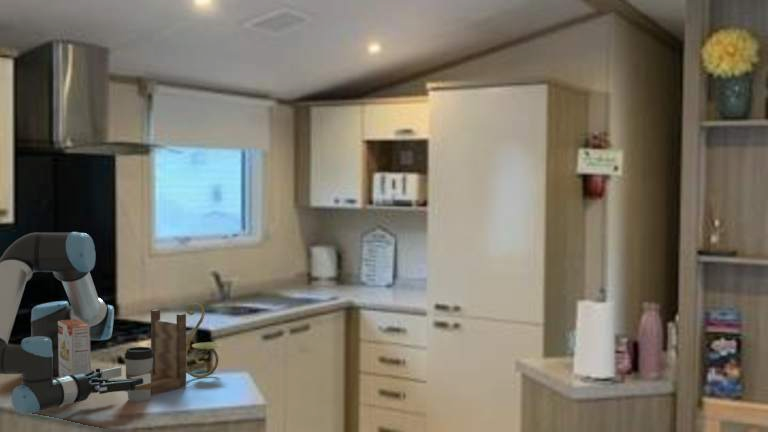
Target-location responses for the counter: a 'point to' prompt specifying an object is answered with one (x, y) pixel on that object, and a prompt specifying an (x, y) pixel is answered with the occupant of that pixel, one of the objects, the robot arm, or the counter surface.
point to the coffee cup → (139, 371)
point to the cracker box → (73, 347)
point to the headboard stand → (168, 353)
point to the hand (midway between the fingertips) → (135, 374)
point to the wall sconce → (201, 345)
